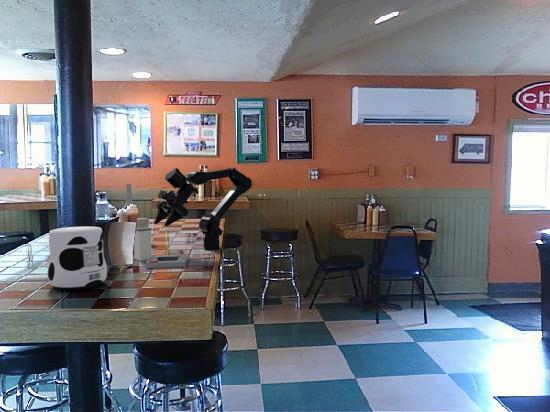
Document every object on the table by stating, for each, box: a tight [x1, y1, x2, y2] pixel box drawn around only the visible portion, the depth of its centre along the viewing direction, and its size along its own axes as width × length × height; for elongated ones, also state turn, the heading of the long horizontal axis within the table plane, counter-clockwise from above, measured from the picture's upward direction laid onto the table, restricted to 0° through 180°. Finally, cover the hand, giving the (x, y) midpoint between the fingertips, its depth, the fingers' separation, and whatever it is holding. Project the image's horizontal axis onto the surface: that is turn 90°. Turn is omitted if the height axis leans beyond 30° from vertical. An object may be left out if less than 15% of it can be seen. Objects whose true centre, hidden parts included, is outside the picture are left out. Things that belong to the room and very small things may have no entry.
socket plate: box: [145, 254, 189, 270], centre depth 185 cm, size 14×14×2 cm
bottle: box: [122, 183, 135, 210], centre depth 245 cm, size 7×7×28 cm
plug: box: [133, 227, 153, 262], centre depth 194 cm, size 5×5×12 cm
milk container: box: [47, 226, 108, 291], centre depth 152 cm, size 17×17×18 cm
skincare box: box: [137, 217, 150, 228], centre depth 230 cm, size 6×4×12 cm
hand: (159, 224), depth 199 cm, fingers open, 9 cm apart
